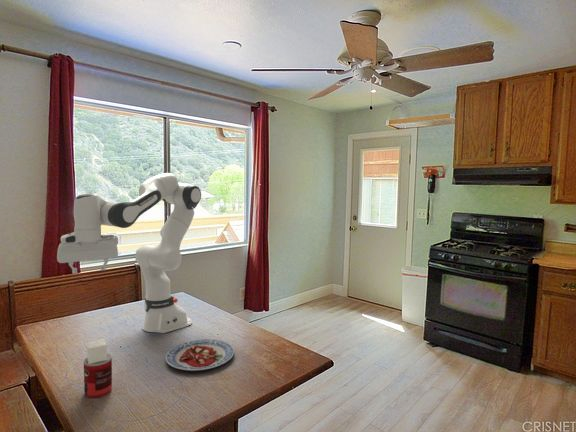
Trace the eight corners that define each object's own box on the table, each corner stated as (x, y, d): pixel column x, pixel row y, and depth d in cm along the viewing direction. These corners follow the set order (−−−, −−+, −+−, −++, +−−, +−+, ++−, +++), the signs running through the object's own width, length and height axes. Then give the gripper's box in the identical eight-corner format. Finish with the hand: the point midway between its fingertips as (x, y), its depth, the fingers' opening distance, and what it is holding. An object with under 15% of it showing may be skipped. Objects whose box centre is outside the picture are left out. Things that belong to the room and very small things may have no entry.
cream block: (104, 353, 113) (104, 339, 113) (106, 360, 109) (106, 344, 109) (86, 357, 111) (86, 342, 110) (88, 364, 106) (88, 348, 106)
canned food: (91, 385, 114) (90, 353, 114) (116, 384, 115) (115, 352, 114) (79, 399, 107) (78, 364, 106) (106, 398, 108) (105, 363, 107)
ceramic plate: (150, 366, 128) (150, 358, 128) (193, 339, 152) (194, 333, 151) (208, 382, 118) (208, 373, 118) (245, 351, 142) (245, 344, 142)
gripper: (116, 233, 140) (117, 266, 141) (55, 237, 128) (57, 273, 129) (119, 235, 135) (120, 269, 136) (56, 239, 123) (58, 277, 124)
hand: (89, 271), depth 133 cm, fingers open, 8 cm apart
